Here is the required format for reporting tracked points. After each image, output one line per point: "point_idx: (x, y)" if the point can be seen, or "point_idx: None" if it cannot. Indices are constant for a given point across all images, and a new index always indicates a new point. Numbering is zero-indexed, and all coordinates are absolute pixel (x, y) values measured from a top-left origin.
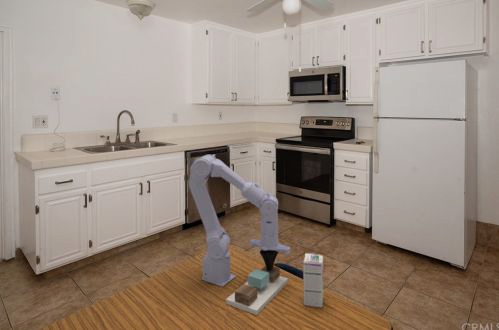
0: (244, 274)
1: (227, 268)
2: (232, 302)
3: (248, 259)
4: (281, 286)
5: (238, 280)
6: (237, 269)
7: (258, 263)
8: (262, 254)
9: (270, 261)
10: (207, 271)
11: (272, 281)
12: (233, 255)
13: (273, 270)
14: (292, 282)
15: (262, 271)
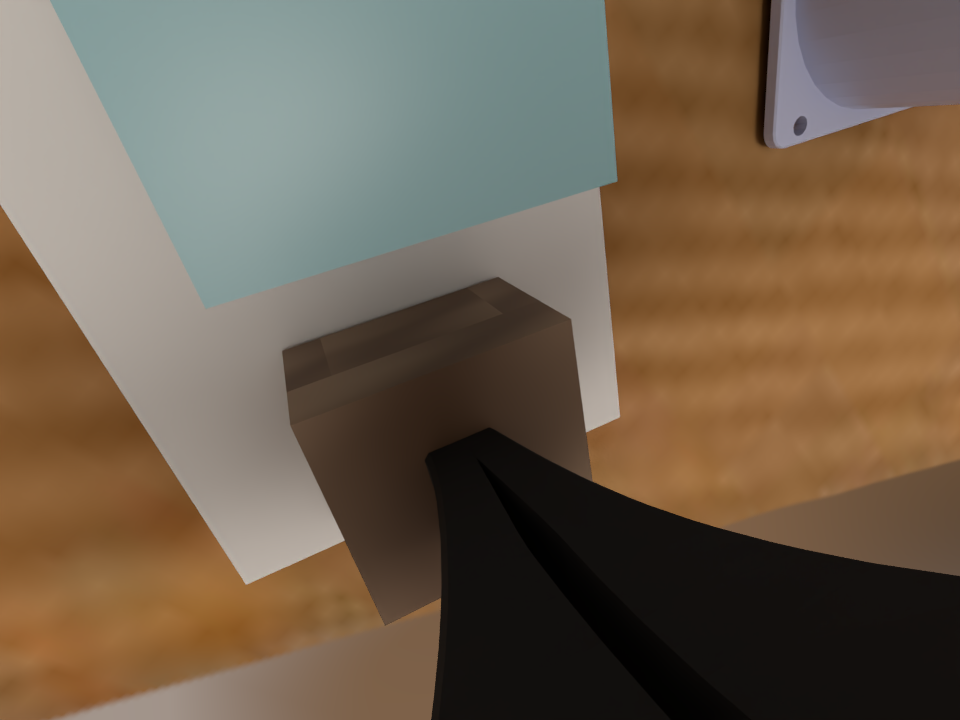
0: (712, 264)
1: None
2: None
3: (799, 459)
4: (147, 411)
5: (701, 112)
6: (806, 275)
7: (708, 491)
8: (886, 635)
9: (460, 625)
10: None
11: (289, 359)
12: (911, 398)
13: (391, 509)
14: (212, 584)
15: (400, 206)
